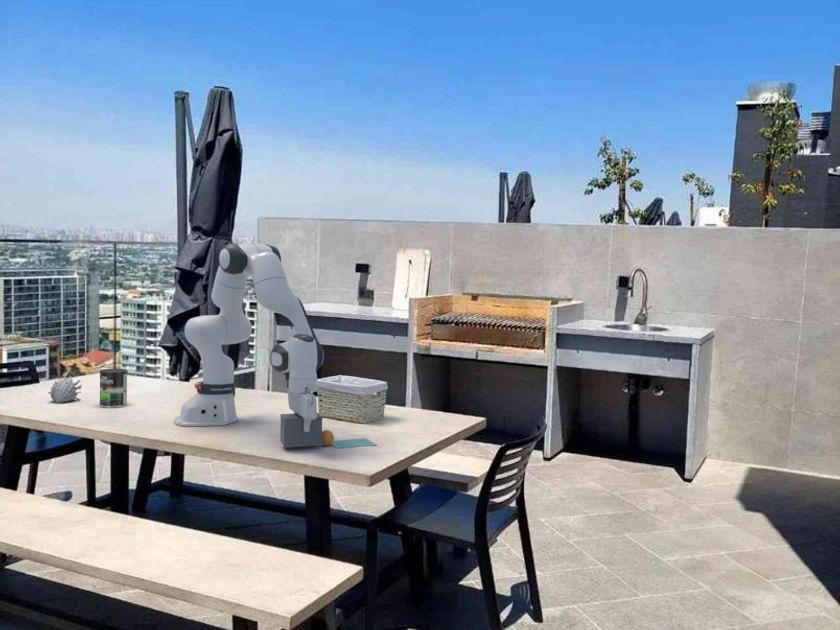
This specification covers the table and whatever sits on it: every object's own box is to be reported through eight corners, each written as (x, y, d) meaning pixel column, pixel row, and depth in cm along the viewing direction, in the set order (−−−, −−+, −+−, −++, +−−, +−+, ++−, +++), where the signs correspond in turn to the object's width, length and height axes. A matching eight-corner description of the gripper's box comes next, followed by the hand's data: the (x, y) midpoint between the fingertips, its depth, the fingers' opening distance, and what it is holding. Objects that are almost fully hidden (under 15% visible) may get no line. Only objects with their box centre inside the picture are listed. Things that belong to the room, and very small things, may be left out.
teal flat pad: (336, 448, 250) (336, 448, 250) (326, 441, 259) (326, 441, 259) (376, 445, 256) (376, 444, 256) (365, 438, 265) (365, 438, 265)
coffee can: (114, 408, 303) (114, 372, 302) (93, 406, 306) (93, 370, 305) (133, 404, 312) (133, 369, 311) (113, 402, 316) (113, 367, 315)
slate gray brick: (283, 446, 244) (284, 418, 243) (279, 441, 251) (280, 414, 250) (322, 444, 248) (322, 417, 247) (317, 439, 255) (317, 412, 254)
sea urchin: (45, 408, 312) (74, 411, 311) (41, 384, 307) (69, 387, 306) (61, 393, 322) (89, 396, 321) (57, 370, 318) (85, 373, 317)
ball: (319, 434, 250) (333, 429, 252) (314, 432, 254) (328, 426, 256) (324, 449, 250) (338, 443, 253) (318, 446, 255) (332, 440, 257)
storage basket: (388, 418, 299) (389, 380, 298) (363, 425, 286) (364, 385, 285) (339, 410, 312) (340, 374, 311) (313, 417, 298) (314, 378, 297)
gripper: (322, 390, 240) (321, 434, 241) (303, 380, 259) (302, 421, 260) (302, 391, 237) (301, 436, 238) (284, 381, 256) (284, 422, 257)
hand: (302, 428), depth 249 cm, fingers closed on slate gray brick, 7 cm apart
